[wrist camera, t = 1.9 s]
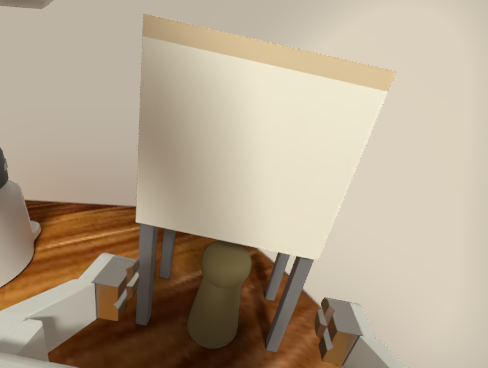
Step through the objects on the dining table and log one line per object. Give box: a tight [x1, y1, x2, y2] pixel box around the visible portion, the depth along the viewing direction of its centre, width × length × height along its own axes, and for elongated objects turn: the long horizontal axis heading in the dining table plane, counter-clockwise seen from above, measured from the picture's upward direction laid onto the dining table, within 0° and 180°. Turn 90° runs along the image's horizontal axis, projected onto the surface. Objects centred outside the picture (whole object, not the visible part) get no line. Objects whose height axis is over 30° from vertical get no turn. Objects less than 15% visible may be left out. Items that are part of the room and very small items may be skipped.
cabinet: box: [136, 14, 396, 352], centre depth 26 cm, size 10×16×29 cm, turn 86°
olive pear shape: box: [187, 240, 251, 349], centre depth 27 cm, size 6×6×11 cm
